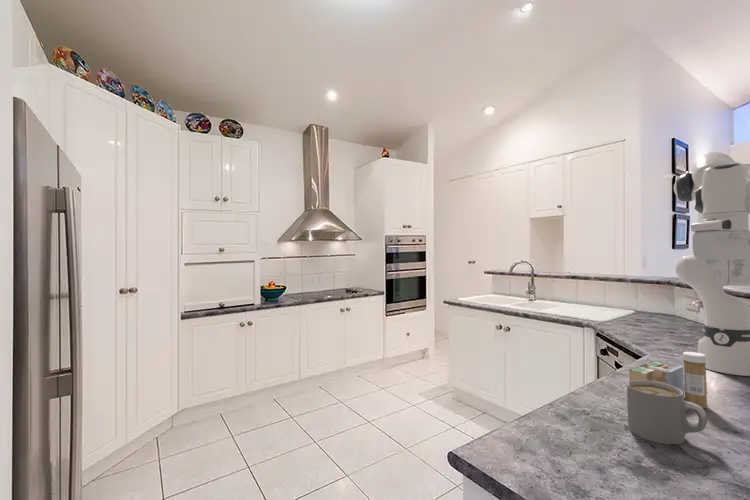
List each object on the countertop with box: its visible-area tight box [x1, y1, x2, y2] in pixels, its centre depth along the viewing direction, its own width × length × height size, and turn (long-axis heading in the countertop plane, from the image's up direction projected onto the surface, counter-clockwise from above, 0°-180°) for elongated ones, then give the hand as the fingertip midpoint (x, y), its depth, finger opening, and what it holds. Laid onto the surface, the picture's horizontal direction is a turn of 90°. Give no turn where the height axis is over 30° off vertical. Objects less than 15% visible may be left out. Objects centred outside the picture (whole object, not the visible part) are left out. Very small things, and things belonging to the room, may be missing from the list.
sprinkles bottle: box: [682, 351, 709, 409], centre depth 94 cm, size 5×5×14 cm
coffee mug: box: [626, 380, 708, 445], centre depth 79 cm, size 13×10×10 cm
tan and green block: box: [628, 360, 669, 384], centre depth 102 cm, size 14×4×7 cm, turn 121°
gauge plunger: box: [648, 365, 685, 395], centre depth 99 cm, size 9×5×9 cm, turn 121°
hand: (726, 277), depth 95 cm, fingers open, 8 cm apart
